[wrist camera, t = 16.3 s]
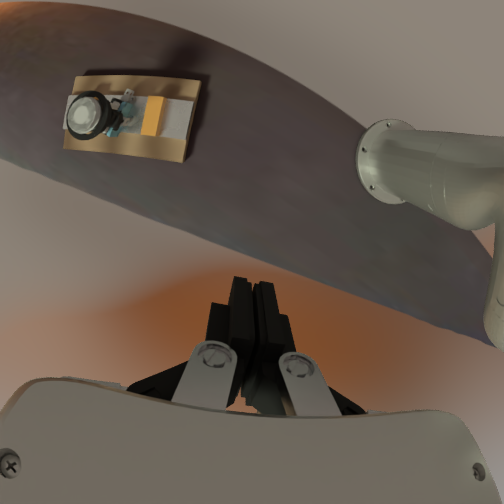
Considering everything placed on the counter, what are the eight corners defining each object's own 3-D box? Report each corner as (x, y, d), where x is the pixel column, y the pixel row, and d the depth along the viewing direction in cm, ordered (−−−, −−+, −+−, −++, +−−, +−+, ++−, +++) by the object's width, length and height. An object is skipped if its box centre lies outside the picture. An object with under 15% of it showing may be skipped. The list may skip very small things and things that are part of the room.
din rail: (194, 102, 31) (193, 101, 30) (186, 140, 32) (185, 139, 32) (71, 95, 28) (68, 95, 28) (65, 128, 30) (62, 128, 30)
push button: (118, 85, 28) (80, 71, 19) (150, 98, 29) (118, 85, 20) (97, 129, 30) (54, 131, 21) (127, 144, 31) (89, 148, 22)
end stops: (166, 98, 30) (163, 96, 28) (158, 136, 31) (155, 136, 30) (87, 94, 28) (82, 93, 27) (81, 129, 30) (75, 129, 29)
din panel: (201, 83, 31) (200, 80, 30) (184, 161, 35) (182, 162, 34) (81, 78, 29) (76, 76, 27) (68, 148, 33) (63, 148, 31)
